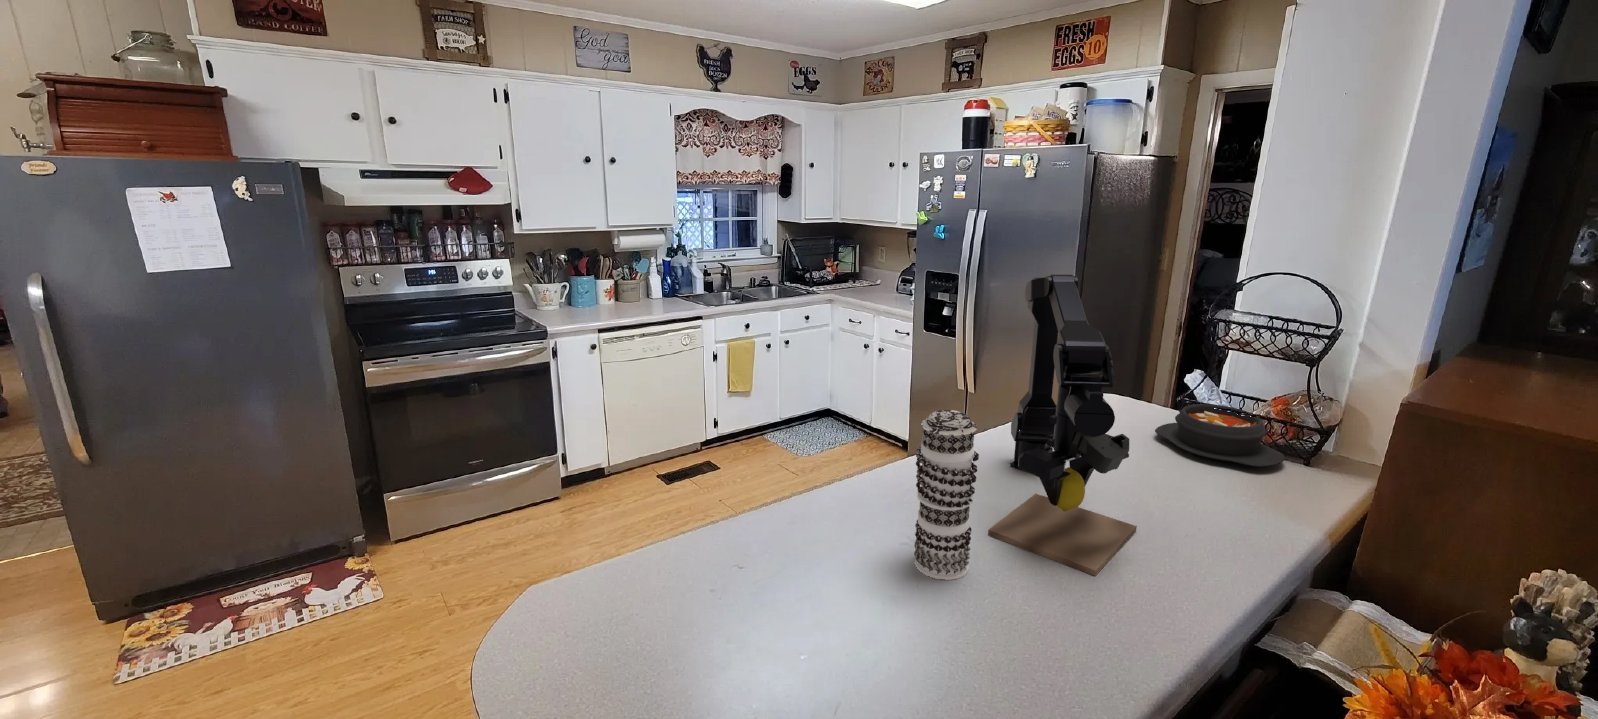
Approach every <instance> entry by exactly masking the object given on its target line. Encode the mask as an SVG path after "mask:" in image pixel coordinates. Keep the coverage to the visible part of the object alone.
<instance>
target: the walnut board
mask: <svg viewBox="0 0 1598 719" xmlns="http://www.w3.org/2000/svg"><path fill="white" fill-rule="evenodd" d="M1137 526H1138V525H1135V524H1132V523H1128V522H1126V521H1122V520H1120V519H1116V518H1113V517H1109V516H1106V515H1103V514H1101V513H1098V512H1095V511H1092V510H1088V509H1085V508H1082V507H1079V506H1078V507H1077V508H1075V509H1072V510H1068V511H1067V512H1064V511H1063V510H1062V509H1061V508H1059V507H1057V506H1054V505H1052V504H1051V503H1050V501H1049V499H1048V496H1045V495H1042V494H1038V493H1035V494H1033V495H1032V496H1030V497H1029V498H1028V499H1027V500H1025V501H1024V502H1023V503H1021V504H1019V505H1018V506H1017V507H1016V508H1015V509H1014V510H1012V511H1010V513H1008V514H1007V515H1005V516H1004V517H1003V518H1002V519H1001V520H999V521H998V522H996V523H995V524H994V525H993V526H991V527H990V528H988V530H987V536H990V537H992V538H995V539H997V540H1000V541H1002V542H1005V543H1007V544H1010V545H1013V546H1015V547H1018V548H1020V549H1024V550H1026V551H1028V552H1031V553H1034V554H1036V555H1039V556H1041V557H1045V558H1047V559H1049V560H1053V561H1054V562H1058V563H1060V564H1062V565H1065V566H1067V567H1070V568H1073V569H1075V570H1078V571H1081V572H1083V573H1086V574H1089V575H1091V576H1094V577H1096V576H1097V575H1098V574H1099V573H1100V572H1101V571H1102V569H1103V568H1104V567H1105V566H1107V564H1108V563H1109V562H1110V561H1111V559H1113V558H1114V557H1115V555H1116V554H1117V553H1118V552H1119V551H1120V550H1121V549H1122V547H1123V546H1124V545H1125V544H1127V542H1128V541H1129V540H1130V539H1131V538H1132V537H1133V536H1134V534H1135V533H1136V532H1137Z"/></svg>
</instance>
